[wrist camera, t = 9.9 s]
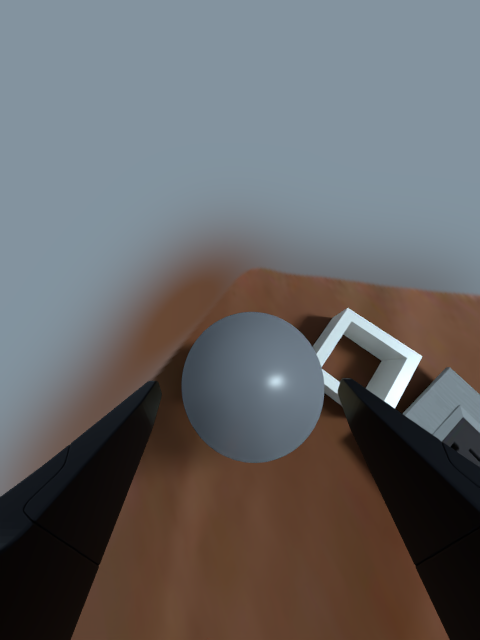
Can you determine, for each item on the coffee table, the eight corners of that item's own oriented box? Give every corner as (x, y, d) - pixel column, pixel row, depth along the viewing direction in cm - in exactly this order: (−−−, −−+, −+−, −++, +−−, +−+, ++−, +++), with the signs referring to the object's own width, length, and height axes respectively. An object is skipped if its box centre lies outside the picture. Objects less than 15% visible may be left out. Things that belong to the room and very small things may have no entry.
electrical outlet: (355, 441, 17) (373, 451, 14) (427, 368, 18) (453, 367, 16) (491, 602, 14) (540, 647, 11) (562, 496, 15) (617, 517, 13)
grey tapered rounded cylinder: (264, 418, 17) (327, 549, 4) (208, 394, 17) (114, 443, 5) (283, 359, 18) (370, 323, 6) (230, 339, 19) (203, 267, 6)
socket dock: (359, 420, 17) (383, 429, 14) (295, 370, 18) (305, 369, 15) (394, 359, 18) (422, 356, 15) (332, 317, 20) (347, 307, 17)
